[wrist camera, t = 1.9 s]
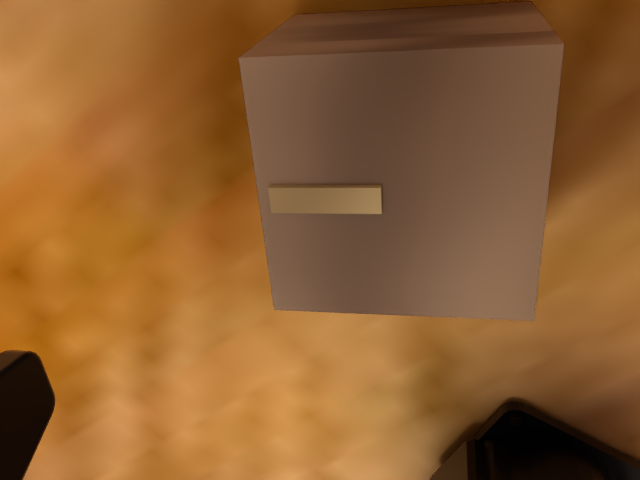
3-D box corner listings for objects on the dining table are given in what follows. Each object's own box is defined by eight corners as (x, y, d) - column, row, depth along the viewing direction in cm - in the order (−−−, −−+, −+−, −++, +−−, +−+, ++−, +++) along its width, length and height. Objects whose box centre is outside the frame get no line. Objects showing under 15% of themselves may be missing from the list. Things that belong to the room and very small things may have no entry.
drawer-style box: (531, 1, 15) (566, 45, 11) (514, 218, 18) (534, 324, 13) (294, 14, 16) (236, 59, 12) (313, 216, 19) (272, 313, 15)
